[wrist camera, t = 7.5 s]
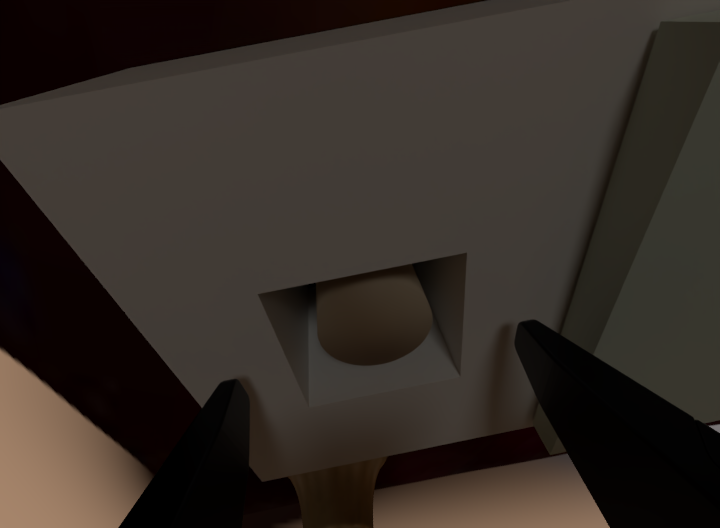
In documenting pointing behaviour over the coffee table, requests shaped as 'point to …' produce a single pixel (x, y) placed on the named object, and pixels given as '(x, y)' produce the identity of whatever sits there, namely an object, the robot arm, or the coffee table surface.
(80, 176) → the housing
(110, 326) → the coffee table surface
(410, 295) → the brown rounded cylinder
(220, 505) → the robot arm
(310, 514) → the hand bell
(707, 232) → the lid
